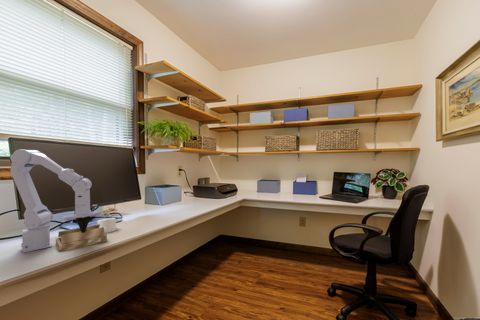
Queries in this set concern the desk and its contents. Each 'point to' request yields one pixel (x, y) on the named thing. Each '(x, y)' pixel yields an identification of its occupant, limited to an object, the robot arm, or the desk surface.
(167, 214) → the desk surface
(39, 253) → the desk surface
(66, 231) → the flap far
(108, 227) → the bracket
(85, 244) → the carton
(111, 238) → the desk surface
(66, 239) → the flap near
